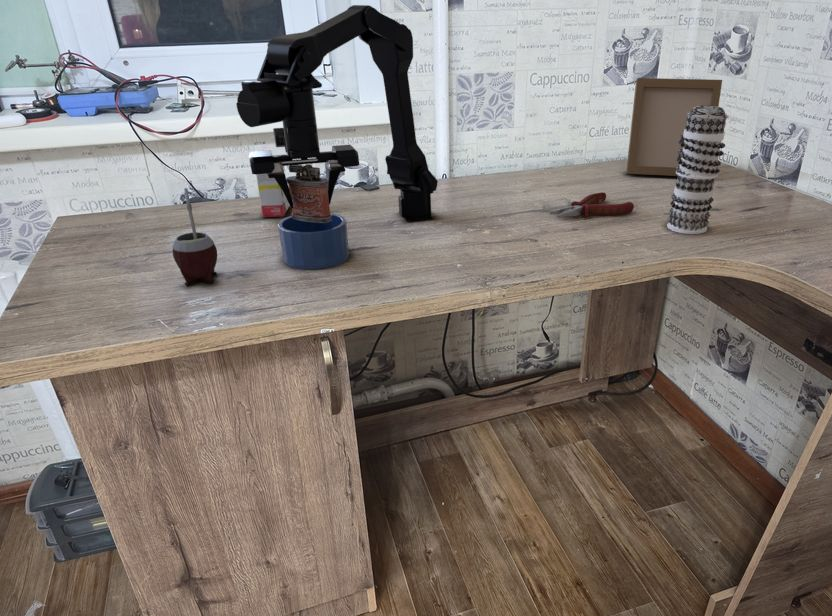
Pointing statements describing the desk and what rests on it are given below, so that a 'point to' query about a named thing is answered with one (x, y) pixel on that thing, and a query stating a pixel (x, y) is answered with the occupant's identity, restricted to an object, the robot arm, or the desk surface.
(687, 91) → the photo frame
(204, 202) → the desk surface
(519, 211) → the desk surface
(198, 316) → the desk surface
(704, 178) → the decorative candle
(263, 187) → the ink box
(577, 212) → the pliers
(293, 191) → the lighter
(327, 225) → the blue round bin
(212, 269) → the mate gourd
